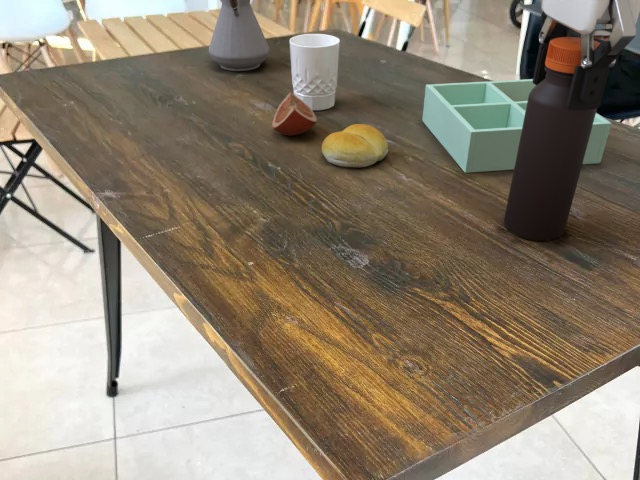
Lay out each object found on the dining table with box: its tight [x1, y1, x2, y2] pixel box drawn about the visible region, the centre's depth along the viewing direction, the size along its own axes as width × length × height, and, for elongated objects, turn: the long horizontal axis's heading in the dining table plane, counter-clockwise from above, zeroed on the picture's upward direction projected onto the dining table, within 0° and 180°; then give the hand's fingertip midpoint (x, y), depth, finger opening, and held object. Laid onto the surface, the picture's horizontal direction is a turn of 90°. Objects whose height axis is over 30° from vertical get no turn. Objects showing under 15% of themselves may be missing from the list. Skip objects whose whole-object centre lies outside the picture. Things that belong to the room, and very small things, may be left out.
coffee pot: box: [208, 0, 271, 72], centre depth 116 cm, size 21×12×15 cm, turn 4°
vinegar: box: [503, 36, 601, 242], centre depth 68 cm, size 7×7×20 cm
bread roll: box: [321, 123, 389, 168], centre depth 88 cm, size 8×9×4 cm
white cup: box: [289, 33, 341, 112], centre depth 104 cm, size 8×8×10 cm
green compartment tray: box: [421, 78, 613, 174], centre depth 93 cm, size 19×19×6 cm
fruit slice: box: [271, 91, 318, 136], centre depth 95 cm, size 8×7×5 cm
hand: (564, 94), depth 65 cm, fingers closed on vinegar, 6 cm apart
